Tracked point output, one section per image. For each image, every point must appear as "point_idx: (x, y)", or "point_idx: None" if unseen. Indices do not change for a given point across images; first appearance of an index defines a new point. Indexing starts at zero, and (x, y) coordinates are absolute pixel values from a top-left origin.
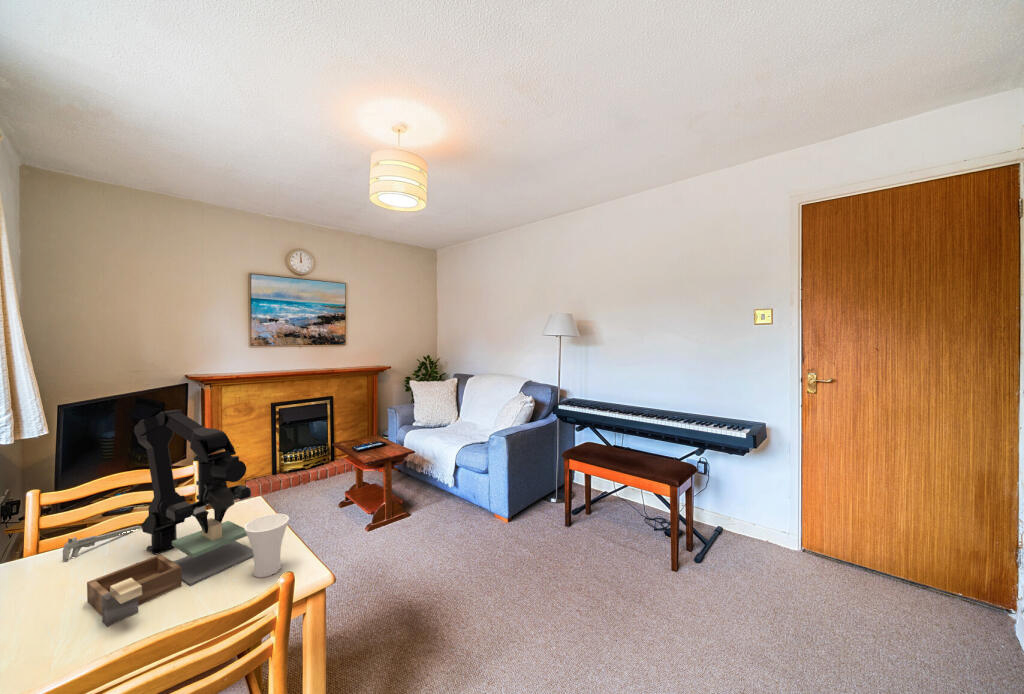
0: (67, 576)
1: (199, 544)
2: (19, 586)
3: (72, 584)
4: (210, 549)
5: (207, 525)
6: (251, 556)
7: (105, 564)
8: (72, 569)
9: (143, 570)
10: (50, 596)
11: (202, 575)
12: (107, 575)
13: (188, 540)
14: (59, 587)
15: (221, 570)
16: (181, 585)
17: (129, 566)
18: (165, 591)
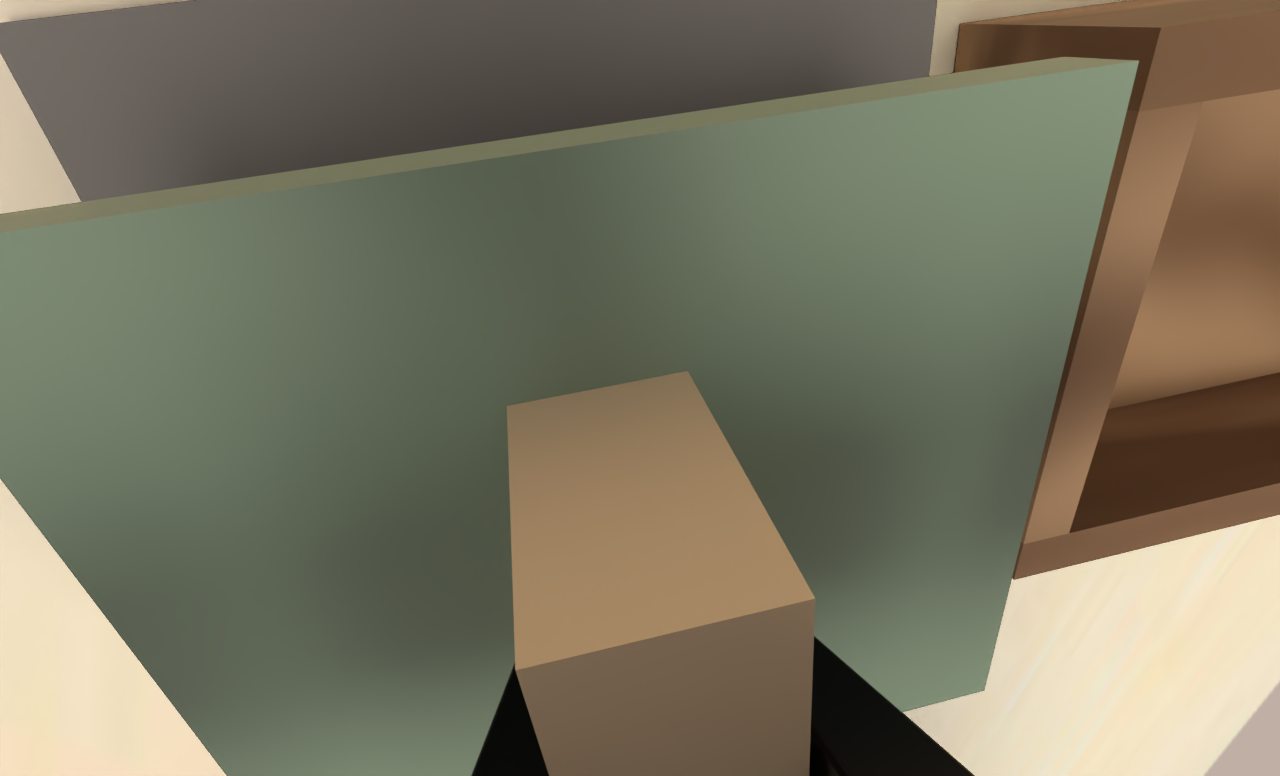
0: (1114, 718)
1: (879, 375)
2: (1215, 734)
3: (1159, 635)
4: (793, 97)
5: (825, 732)
6: (129, 9)
7: (986, 741)
8: (1067, 766)
9: (1105, 458)
10: (1260, 580)
11: (780, 19)
12: None
13: (887, 606)
14: (1192, 640)
15: None
16: (963, 25)
17: (1248, 513)
18: (1111, 5)
